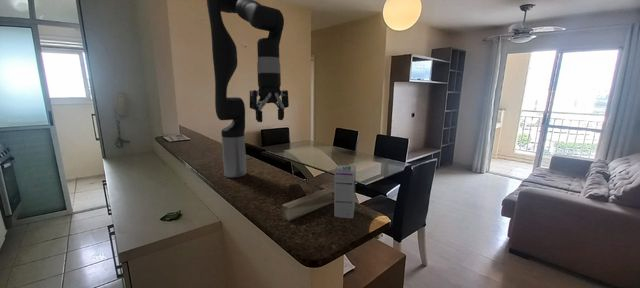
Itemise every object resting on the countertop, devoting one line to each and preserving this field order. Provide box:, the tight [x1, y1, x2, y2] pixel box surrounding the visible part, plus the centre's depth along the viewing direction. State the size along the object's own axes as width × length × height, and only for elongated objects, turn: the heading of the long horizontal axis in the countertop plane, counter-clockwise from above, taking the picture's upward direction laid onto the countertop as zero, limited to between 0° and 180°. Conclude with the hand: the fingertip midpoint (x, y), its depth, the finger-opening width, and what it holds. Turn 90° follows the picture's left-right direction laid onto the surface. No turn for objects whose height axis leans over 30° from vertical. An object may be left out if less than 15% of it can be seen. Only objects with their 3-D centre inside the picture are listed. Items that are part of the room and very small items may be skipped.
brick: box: [288, 183, 307, 202], centre depth 88 cm, size 11×4×5 cm, turn 19°
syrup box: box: [333, 164, 356, 220], centre depth 79 cm, size 6×6×14 cm
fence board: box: [281, 188, 333, 222], centre depth 82 cm, size 3×18×4 cm, turn 135°
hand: (270, 120), depth 91 cm, fingers open, 8 cm apart
